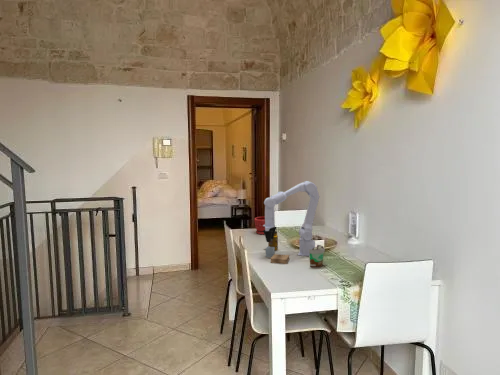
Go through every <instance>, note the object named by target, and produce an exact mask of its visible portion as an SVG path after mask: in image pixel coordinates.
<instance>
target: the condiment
mask: <svg viewBox="0 0 500 375" xmlns="http://www.w3.org/2000/svg"><path fill="white" fill-rule="evenodd" d="M278 237H279V236H278V231H277V230H275V233H274V238H273V239H271V241H270V242H267V243H268V244H267V245H268V246H267V247H275V252H277V251H281V249H279V242H278V241H279V240H278ZM263 251H266V248H263Z"/></svg>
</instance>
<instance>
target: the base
mask: <svg viewBox="0 0 500 375" xmlns="http://www.w3.org/2000/svg"><path fill="white" fill-rule="evenodd" d="M289 261H290V255H289V254H281V253H280V254H278V253H275V254H274V255H273V256H272V257H270V264H280V265H287V264H288V262H289Z"/></svg>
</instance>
